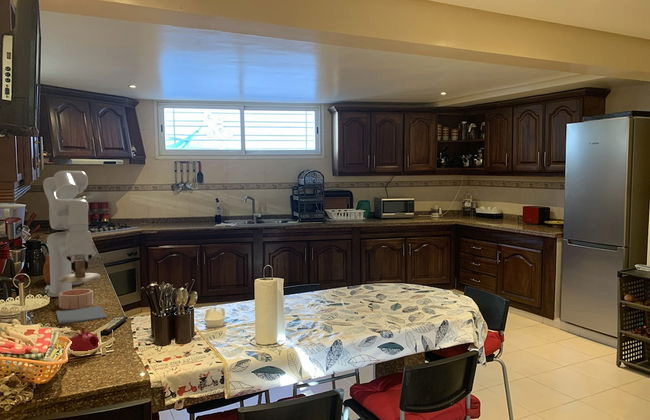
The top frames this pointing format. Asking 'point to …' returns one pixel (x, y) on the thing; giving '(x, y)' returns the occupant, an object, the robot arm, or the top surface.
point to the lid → (79, 274)
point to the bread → (48, 269)
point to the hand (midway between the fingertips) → (79, 270)
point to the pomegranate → (84, 341)
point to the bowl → (75, 298)
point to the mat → (80, 315)
